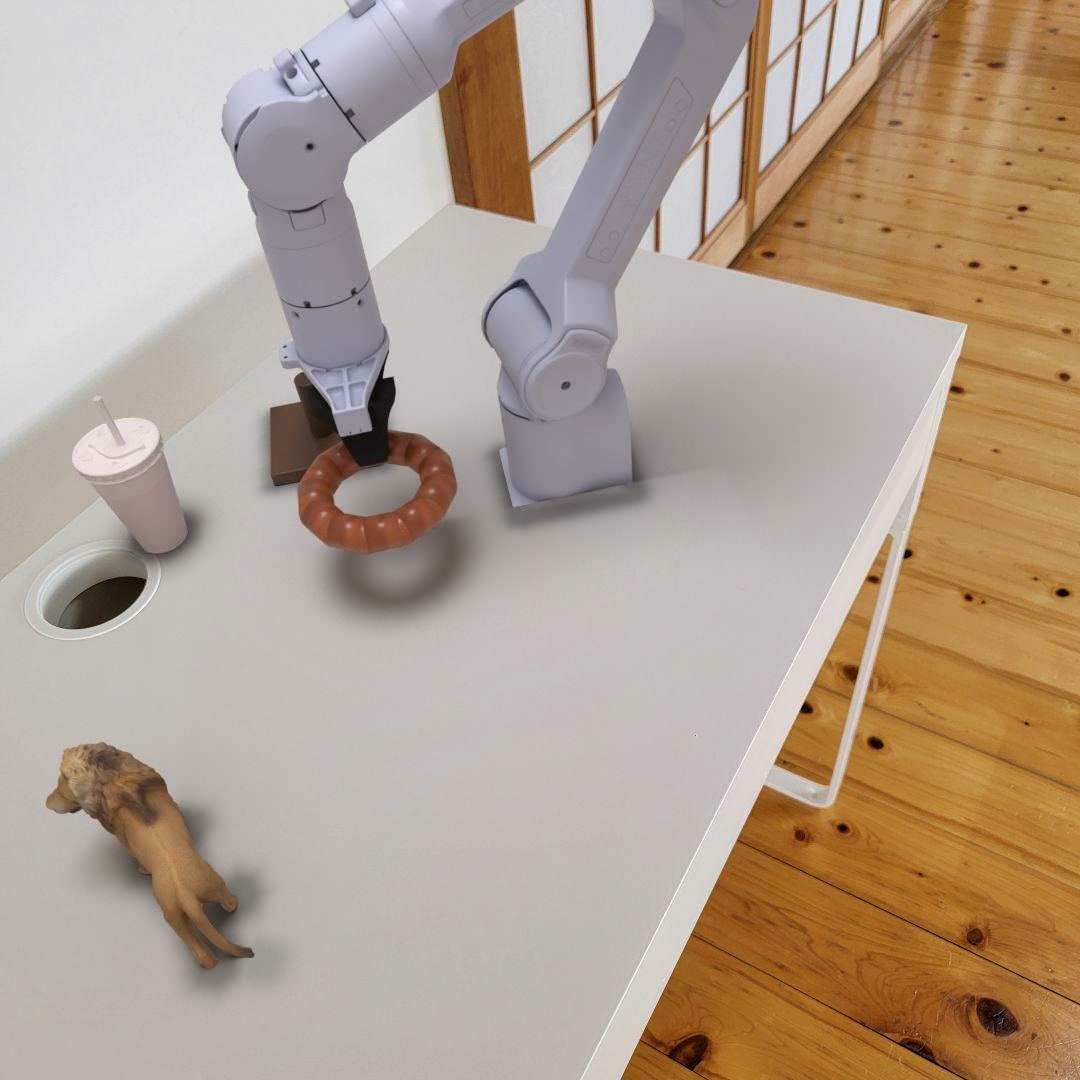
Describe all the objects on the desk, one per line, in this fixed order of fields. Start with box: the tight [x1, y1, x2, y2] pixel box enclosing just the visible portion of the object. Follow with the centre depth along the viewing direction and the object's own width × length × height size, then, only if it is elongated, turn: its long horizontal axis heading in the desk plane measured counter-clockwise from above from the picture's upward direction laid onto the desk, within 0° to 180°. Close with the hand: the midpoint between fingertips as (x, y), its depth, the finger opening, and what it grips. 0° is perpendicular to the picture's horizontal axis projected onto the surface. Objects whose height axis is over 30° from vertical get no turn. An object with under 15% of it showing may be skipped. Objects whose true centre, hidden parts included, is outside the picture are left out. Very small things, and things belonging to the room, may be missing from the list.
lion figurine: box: [45, 741, 256, 970], centre depth 55 cm, size 15×5×9 cm, turn 50°
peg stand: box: [269, 371, 342, 486], centre depth 82 cm, size 9×9×7 cm
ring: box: [296, 429, 458, 555], centre depth 68 cm, size 11×11×2 cm
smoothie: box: [71, 395, 189, 555], centre depth 74 cm, size 6×6×14 cm
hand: (371, 447), depth 71 cm, fingers closed on ring, 2 cm apart
